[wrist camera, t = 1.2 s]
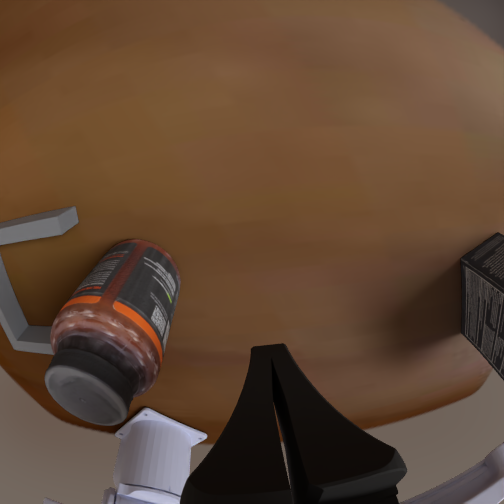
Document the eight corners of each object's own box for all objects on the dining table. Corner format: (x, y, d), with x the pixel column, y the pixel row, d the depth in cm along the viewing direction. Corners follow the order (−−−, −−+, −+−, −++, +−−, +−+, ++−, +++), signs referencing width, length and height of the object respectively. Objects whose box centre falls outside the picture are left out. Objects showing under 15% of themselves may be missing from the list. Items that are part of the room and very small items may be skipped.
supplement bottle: (92, 277, 19) (15, 385, 9) (131, 218, 18) (37, 318, 8) (153, 323, 21) (116, 449, 11) (199, 273, 20) (175, 409, 9)
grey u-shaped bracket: (75, 206, 17) (57, 216, 15) (115, 338, 22) (106, 358, 19) (-15, 227, 17) (-33, 237, 15) (25, 334, 21) (14, 349, 19)
